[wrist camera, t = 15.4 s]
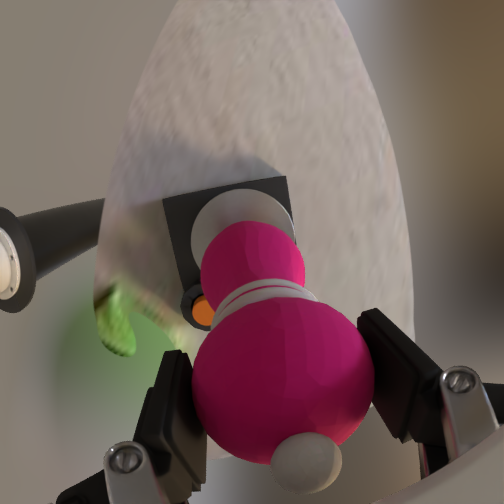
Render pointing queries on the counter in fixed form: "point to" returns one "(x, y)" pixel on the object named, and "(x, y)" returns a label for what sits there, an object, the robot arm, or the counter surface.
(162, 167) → the counter surface
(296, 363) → the pepper mill
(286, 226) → the weighing plate
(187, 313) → the scale
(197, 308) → the button
